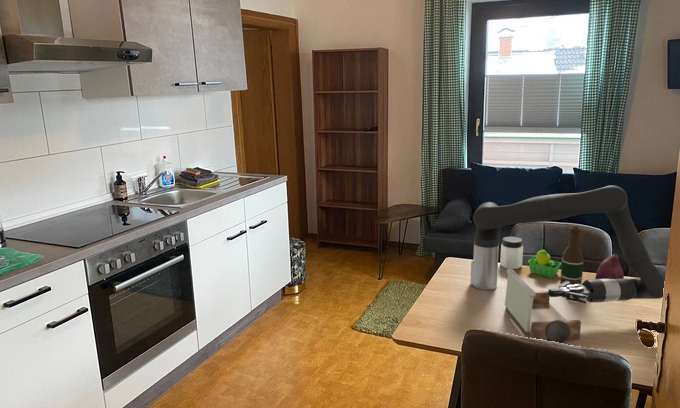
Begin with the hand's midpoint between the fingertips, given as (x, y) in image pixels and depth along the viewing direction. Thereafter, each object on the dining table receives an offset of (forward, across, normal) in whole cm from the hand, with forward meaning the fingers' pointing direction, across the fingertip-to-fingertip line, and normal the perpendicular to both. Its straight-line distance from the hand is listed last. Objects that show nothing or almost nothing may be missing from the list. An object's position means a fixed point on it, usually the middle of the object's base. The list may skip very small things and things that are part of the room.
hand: (549, 293), depth 165 cm
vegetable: (-37, -29, +11) cm, 49 cm away
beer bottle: (-21, -28, +11) cm, 37 cm away
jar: (-7, -52, +11) cm, 53 cm away
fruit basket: (-16, -42, +11) cm, 46 cm away
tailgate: (+11, 0, +8) cm, 13 cm away
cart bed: (+2, 0, +11) cm, 11 cm away
